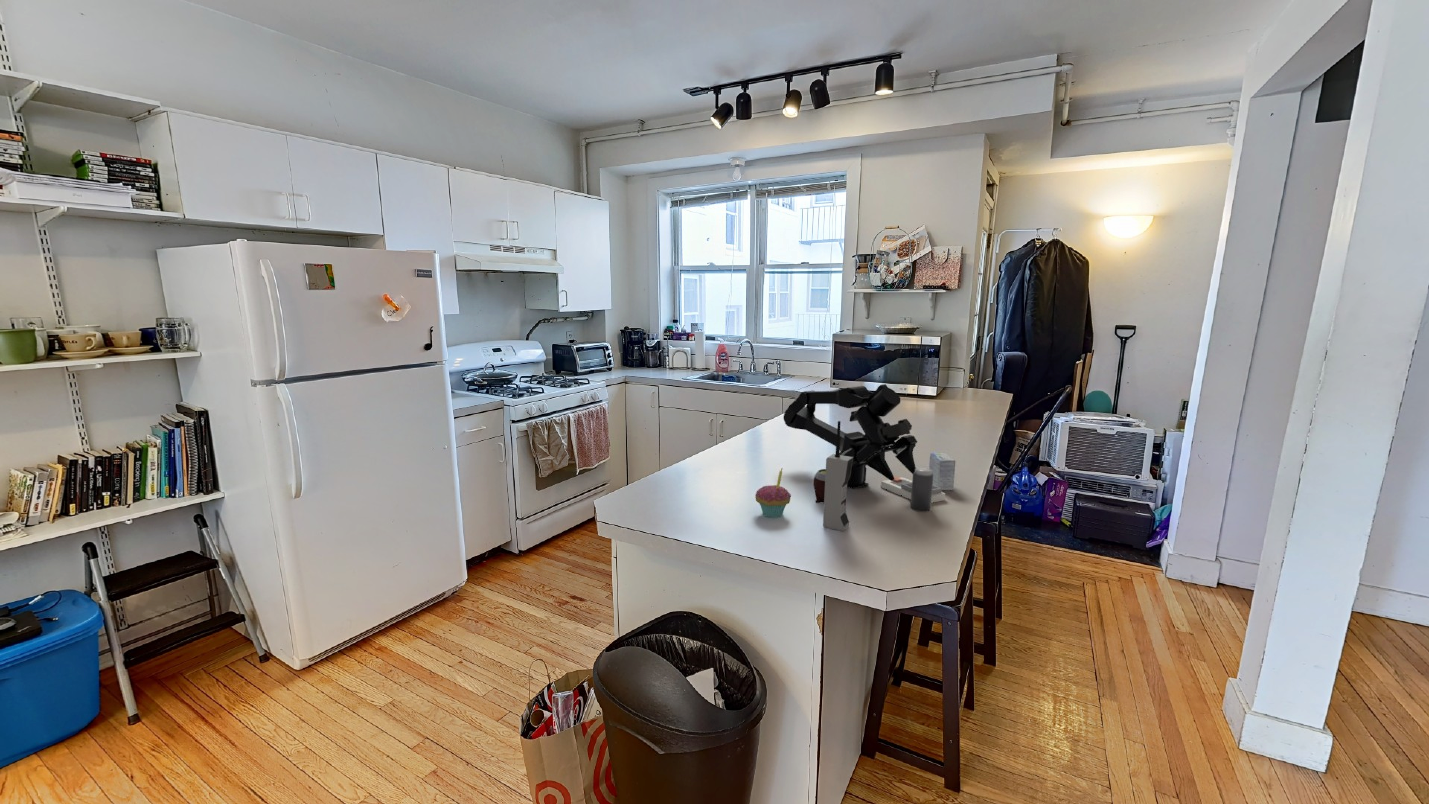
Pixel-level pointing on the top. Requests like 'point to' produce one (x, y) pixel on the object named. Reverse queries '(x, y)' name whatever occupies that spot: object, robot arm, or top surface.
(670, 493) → the top surface
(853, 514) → the top surface
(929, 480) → the grey cylinder
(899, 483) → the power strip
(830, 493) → the vintage mobile phone
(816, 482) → the mate gourd
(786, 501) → the cupcake
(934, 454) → the medicine box
